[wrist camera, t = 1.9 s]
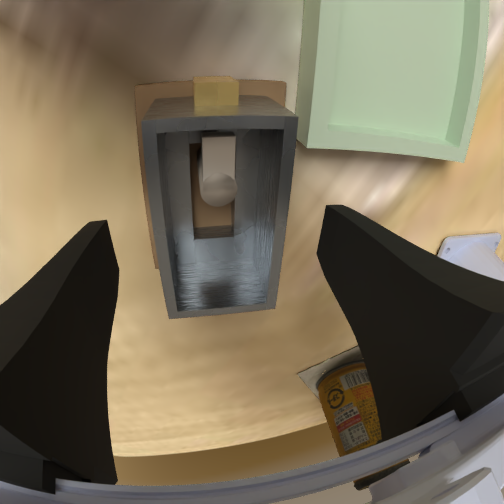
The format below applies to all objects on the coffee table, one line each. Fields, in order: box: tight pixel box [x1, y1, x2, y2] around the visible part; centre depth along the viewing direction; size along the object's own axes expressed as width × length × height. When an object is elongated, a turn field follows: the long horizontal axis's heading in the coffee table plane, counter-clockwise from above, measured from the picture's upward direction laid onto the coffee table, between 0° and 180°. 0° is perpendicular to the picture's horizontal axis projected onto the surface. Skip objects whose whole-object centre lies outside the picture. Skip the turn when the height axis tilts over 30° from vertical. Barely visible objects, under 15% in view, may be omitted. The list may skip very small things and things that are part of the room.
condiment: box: [298, 346, 410, 490], centre depth 24 cm, size 7×8×12 cm
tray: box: [295, 0, 489, 163], centre depth 10 cm, size 13×10×2 cm
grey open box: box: [141, 76, 299, 319], centre depth 12 cm, size 9×4×4 cm, turn 177°
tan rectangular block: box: [135, 80, 286, 269], centre depth 12 cm, size 9×6×4 cm, turn 177°
